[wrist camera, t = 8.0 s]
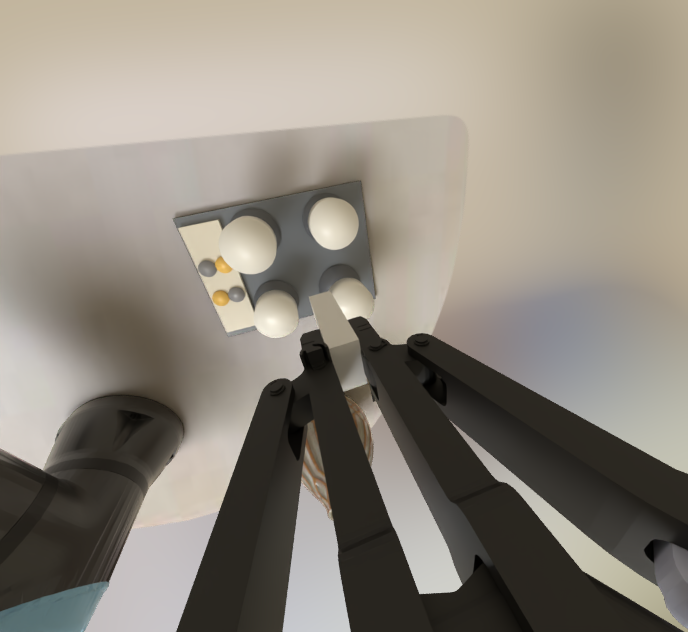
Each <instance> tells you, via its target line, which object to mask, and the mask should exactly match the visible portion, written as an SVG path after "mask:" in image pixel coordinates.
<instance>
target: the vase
mask: <svg viewBox="0 0 688 632" xmlns="http://www.w3.org/2000/svg"><path fill="white" fill-rule="evenodd" d="M345 397H346V400H347V403H348V406H349V408H350V411H351V414H352V417H353V419H354V422H355V425H356V428H357V430H358V433H359V436H360V439H361V441H362V444H363V447H364V450H365V452H366V455H367V458H368V461H369V463H370V466H371V465H372V460H373V436H372V432H371V428H370V425H369V422H368V420H367V418H366V416H365V414H364V412H363V410H362V409H361V408H360V407H359V406H358V404H357V403H356V402H354V401H353V400H352V399H351V398H349V397H347V396H345ZM307 425H308V430H307V438H306V446H305V454H304V462H303V470H302V478H301V483H302V484H303V485H304V486H305V488H306V489H307V490H308V491H309V492H310V493H311V494H312V495H313V496H314V497H315V498H317V499H318V500H319V501H320V502H321V503H322V504H323V506H324V507H325V509H326V510H327V514H328V517H329V519H331V520H333V515H332V510H331V505H330V500H329V494H328V489H327V484H326V479H325V474H324V468H323V463H322V458H321V453H320V447H319V442H318V437H317V432H316V426H315V421H314V420H312V421H311V422H309V423H308V424H307Z"/></svg>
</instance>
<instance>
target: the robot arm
mask: <svg viewBox="0 0 688 632" xmlns="http://www.w3.org/2000/svg"><path fill="white" fill-rule="evenodd" d="M309 300H310V303H311V307H312V310H313V314H314V317H315V321H316V324H317V328H318V330H314V331H311V332H308V333H304V334H303V335H302V337H301V339H300V341H301V346H302V350H301V351H300V358H301V360H302V363H303V366H304V371H303V373H302V374H301V375H300V376H299V377H298V378H296V379H294V380H293V381H290V380H288V379H285V378H284V379H277V380H274V381H272V382H270V383H269V384H268V385H267V386H266V387H265V388H264V389H263V391H262V393H261V396H260V399H259V402H258V405H257V407H256V410H255V413H254V416H253V419H252V421H251V424H250V427H249V430H248V433H247V435H246V438H245V441H244V444H243V447H242V449H241V452H240V455H239V458H238V461H237V463H236V466H235V469H234V472H233V475H232V477H231V480H230V483H229V486H228V489H227V491H226V494H225V497H224V500H223V503H222V505H221V508H220V511H219V514H218V517H217V519H216V522H215V525H214V528H213V531H212V533H211V536H210V539H209V542H208V545H207V547H206V550H205V553H204V556H203V559H202V561H201V564H200V567H199V570H198V572H197V575H196V578H195V581H194V584H193V586H192V589H191V592H190V595H189V598H188V601H187V604H186V606H185V609H184V612H183V614H182V617H181V620H180V623H179V626H178V628H177V631H176V632H282V630H283V622H284V614H285V605H286V598H287V590H288V582H289V574H290V566H291V558H292V550H293V542H294V533H295V526H296V518H297V510H298V502H299V493H300V486H301V478H302V470H303V462H304V454H305V446H306V438H307V430H308V425H307V424H308V423H309V422H311V421H312V420H314V421H315V426H316V432H317V437H318V442H319V447H320V453H321V458H322V463H323V468H324V474H325V479H326V484H327V489H328V494H329V500H330V505H331V510H332V515H333V521H334V526H335V531H336V536H337V541H338V549H339V550H338V561H339V568H340V574H341V580H342V585H343V591H344V596H345V602H346V607H347V613H348V618H349V623H350V629H351V632H684V631H682V630H680V629H678V628H677V627H675V626H674V625H672V624H670V623H669V622H667V621H665V620H664V619H662V618H660V617H658V616H657V615H655V614H654V613H652V612H650V611H649V610H647V609H645V608H644V607H642V606H640V605H638V604H637V603H635V602H634V601H632V600H630V599H629V598H627V597H625V596H623V595H622V594H620V593H618V592H617V591H615V590H613V589H612V588H610V587H608V586H607V585H605V584H603V583H602V582H600V581H598V580H597V579H595V578H593V577H592V576H590V575H588V574H587V573H585V572H583V571H582V570H581V569H580V568H579V566H578V565H577V564H576V563H575V562H574V560H573V559H572V558H571V557H570V555H569V554H568V553H567V552H566V550H565V549H564V548H563V547H562V546H561V544H560V543H559V542H558V541H557V539H556V538H555V537H554V536H553V535H552V533H551V532H550V531H549V530H548V529H547V527H546V526H545V525H544V523H543V522H542V521H541V520H540V519H539V517H538V516H537V515H536V514H535V513H534V511H533V510H532V509H531V508H530V506H529V505H528V504H527V503H526V501H525V500H524V499H523V498H522V497H521V496H520V495H519V493H518V492H517V491H516V490H515V489H514V488H513V487H511V486H510V485H508V484H507V483H504V482H499V481H497V480H496V479H495V478H494V477H493V476H492V475H491V473H490V472H489V471H488V470H487V468H486V467H485V466H484V465H483V463H482V462H481V461H480V459H479V458H478V457H477V455H476V454H475V453H474V452H473V450H472V449H471V448H470V446H469V445H468V444H467V442H466V441H465V440H464V439H463V437H462V436H461V435H460V433H459V432H458V431H457V430H456V428H455V427H454V426H453V424H452V423H451V422H450V421H452V422H453V423H454V424H455V425H456V426H458V427H459V428H460V429H461V430H462V431H464V432H465V433H466V434H467V435H468V436H469V437H471V438H472V439H473V440H474V441H475V442H477V443H478V444H479V445H480V446H481V447H483V448H484V449H485V450H486V451H487V452H488V453H490V454H491V455H492V456H493V457H494V458H495V459H497V460H498V461H499V462H500V463H501V464H503V465H504V466H505V467H506V468H507V469H508V470H510V471H511V472H512V473H513V474H514V475H516V476H517V477H518V478H519V479H520V480H521V481H523V482H524V483H525V484H526V485H527V486H529V487H530V488H531V489H532V490H533V491H534V492H536V493H537V494H538V495H539V496H540V497H542V498H543V499H544V500H545V501H546V502H547V503H549V504H550V505H551V506H552V507H553V508H555V509H556V510H557V511H558V512H559V513H560V514H562V515H563V516H564V517H565V518H566V519H568V520H569V521H570V522H571V523H572V524H574V525H575V526H576V527H577V528H578V529H580V530H581V531H582V532H583V533H584V534H585V535H587V536H588V537H589V538H590V539H592V540H593V541H594V542H595V543H597V544H598V545H599V546H601V547H602V548H603V549H604V550H605V551H607V552H608V553H609V554H611V555H612V556H613V557H615V558H616V559H618V560H619V561H621V562H622V563H623V564H625V565H627V566H628V567H629V568H631V569H632V570H633V571H635V572H636V573H638V574H639V575H641V576H642V577H644V578H646V579H647V580H649V581H650V582H652V583H654V584H655V585H657V586H658V587H659V588H660V590H661V592H662V594H663V596H664V600H665V604H666V607H667V608H668V610H669V611H670V613H671V614H672V616H673V617H674V618H675V619H676V620H677V621H678V622H679V623H681V624H682V625H683V626H684V627H686V628H687V629H688V474H687V473H684V472H681V471H679V470H676V469H674V468H672V467H670V466H669V465H667V464H665V463H663V462H661V461H660V460H658V459H656V458H654V457H652V456H650V455H649V454H647V453H645V452H643V451H641V450H639V449H638V448H636V447H634V446H632V445H630V444H629V443H626V442H625V441H623V440H621V439H619V438H618V437H616V436H614V435H612V434H610V433H608V432H607V431H605V430H603V429H601V428H599V427H598V426H596V425H594V424H592V423H590V422H588V421H587V420H584V419H583V418H581V417H579V416H578V415H576V414H574V413H572V412H570V411H568V410H567V409H565V408H563V407H561V406H559V405H558V404H556V403H554V402H552V401H550V400H548V399H547V398H544V397H543V396H541V395H539V394H537V393H536V392H534V391H532V390H530V389H528V388H526V387H525V386H523V385H521V384H519V383H517V382H516V381H514V380H512V379H510V378H508V377H506V376H505V375H503V374H501V373H499V372H497V371H496V370H494V369H492V368H490V367H488V366H486V365H484V364H483V363H481V362H479V361H477V360H476V359H474V358H472V357H470V356H468V355H466V354H465V353H462V352H461V351H459V350H457V349H455V348H453V347H452V346H450V345H448V344H446V343H445V342H443V341H441V340H439V339H437V338H435V337H434V336H432V335H429V334H423V333H420V334H415V335H412V336H410V337H409V338H408V340H407V344H402V345H391V344H390V343H389V342H388V341H387V340H385V339H382V338H380V337H379V335H378V334H377V333H376V331H375V330H374V329H373V328H372V326H371V325H370V324H369V322H368V321H367V319H365V318H363V317H361V316H359V317H355V318H352V319H349V320H347V319H346V317H345V315H344V314H343V312H342V310H341V308H340V307H339V305H338V303H337V302H336V300H335V298H334V297H333V295H332V293H331V291H327V292H324V293H320V294H317V295H313V296H310V297H309ZM366 377H367V378H366ZM367 379H368V381H369V383H370V388H371V394H372V399H373V402H374V401H375V400H376V402H377V404H378V406H379V408H380V410H381V412H382V414H383V416H384V418H385V420H386V422H387V424H388V426H389V428H390V430H391V432H392V434H393V436H394V438H395V440H396V442H397V444H398V446H399V448H400V450H401V452H402V454H403V456H404V458H405V460H406V463H407V465H408V467H409V469H410V470H411V473H412V475H413V477H414V479H415V481H416V483H417V485H418V487H419V489H420V491H421V493H422V495H423V497H424V499H425V501H426V503H427V505H428V507H429V509H430V511H431V513H432V515H433V517H434V519H435V521H436V523H437V525H438V527H439V529H440V531H441V533H442V535H443V537H444V539H445V541H446V543H447V546H448V548H449V550H450V553H451V556H452V560H453V563H454V566H455V568H456V571H457V573H458V575H459V577H460V580H461V582H462V584H463V585H462V586H461V587H460V588H459V589H458V590H457V591H455V592H450V593H433V594H419V592H418V590H417V587H416V584H415V581H414V579H413V576H412V573H411V570H410V568H409V565H408V562H407V560H406V557H405V554H404V551H403V549H402V546H401V544H400V541H399V538H398V536H397V534H396V531H395V529H394V528H393V526H392V523H391V521H390V518H389V516H388V513H387V510H386V507H385V504H384V502H383V499H382V496H381V494H380V491H379V488H378V485H377V483H376V480H375V477H374V474H373V472H372V469H371V466H370V463H369V461H368V458H367V455H366V452H365V450H364V447H363V444H362V441H361V439H360V436H359V433H358V430H357V428H356V425H355V422H354V419H353V417H352V414H351V411H350V408H349V406H348V403H347V400H346V397H345V395H344V391H347V390H350V389H353V388H356V387H359V386H362V385H365V384H368V383H367ZM449 420H450V421H449ZM183 434H184V431H183V426H182V423H181V421H180V420H179V418H178V417H177V416H176V415H175V413H173V412H172V411H171V410H170V409H168V408H167V407H165V406H164V405H162V404H160V403H157V402H155V401H152V400H149V399H145V398H141V397H135V396H109V397H103V398H99V399H95V400H92V401H90V402H87V403H85V404H84V405H82V406H80V407H79V408H78V409H76V410H75V411H74V412H73V413H72V414H71V416H70V417H69V418H68V419H67V420H66V421H65V422H64V423H63V424H62V426H61V427H60V429H59V431H58V433H57V436H56V439H55V444H54V446H53V448H52V450H51V452H50V455H49V457H48V459H47V462H46V464H45V466H44V469H43V470H41V469H39V468H37V467H35V466H33V465H31V464H29V463H28V462H26V461H24V460H22V459H20V458H18V457H16V456H14V455H12V454H10V453H8V452H6V451H4V450H2V449H0V632H84V631H85V629H86V627H87V626H88V623H89V621H90V619H91V617H92V615H93V613H94V611H95V609H96V607H97V605H98V603H99V601H100V599H101V597H102V595H103V593H104V592H105V591H106V590H107V588H108V586H109V580H110V578H111V575H112V573H113V570H114V568H115V566H116V564H117V561H118V559H119V557H120V554H121V552H122V549H123V547H124V545H125V542H126V540H127V538H128V535H129V533H130V531H131V528H132V526H133V523H134V521H135V519H136V516H137V514H138V512H139V509H140V507H141V505H142V502H143V500H144V498H145V495H146V493H147V491H148V489H149V487H150V486H151V485H152V484H153V482H154V481H155V480H156V479H157V478H158V476H159V475H160V474H161V472H162V471H163V470H164V468H165V466H166V465H168V464H169V463H170V462H171V460H172V459H173V458H174V457H175V455H176V453H177V452H178V449H179V447H180V444H181V442H182V439H183Z"/></svg>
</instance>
